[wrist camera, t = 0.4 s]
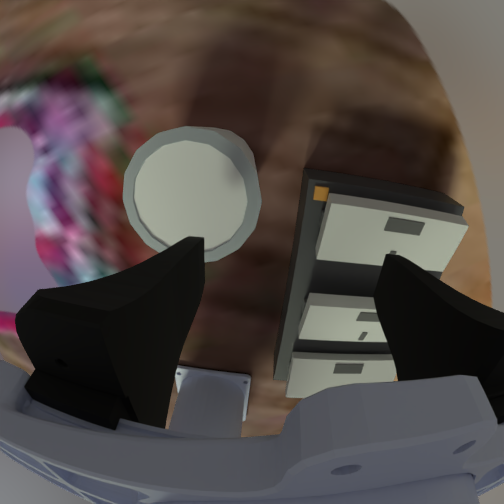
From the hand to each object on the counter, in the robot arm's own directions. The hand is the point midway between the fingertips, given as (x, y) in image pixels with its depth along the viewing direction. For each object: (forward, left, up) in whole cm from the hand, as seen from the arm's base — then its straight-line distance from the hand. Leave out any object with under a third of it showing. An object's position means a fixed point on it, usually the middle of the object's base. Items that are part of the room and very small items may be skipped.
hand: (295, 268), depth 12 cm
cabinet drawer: (0, -7, -6) cm, 9 cm away
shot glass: (+1, +5, -10) cm, 11 cm away
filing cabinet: (-7, -7, -10) cm, 14 cm away
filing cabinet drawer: (-7, -7, -6) cm, 11 cm away
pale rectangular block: (-13, -7, -6) cm, 16 cm away
